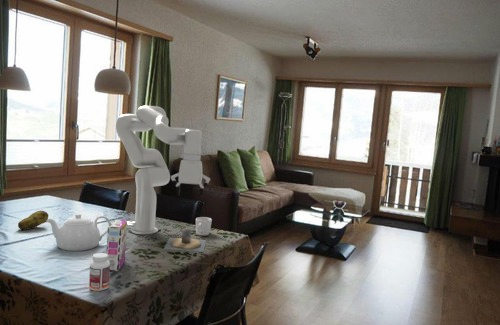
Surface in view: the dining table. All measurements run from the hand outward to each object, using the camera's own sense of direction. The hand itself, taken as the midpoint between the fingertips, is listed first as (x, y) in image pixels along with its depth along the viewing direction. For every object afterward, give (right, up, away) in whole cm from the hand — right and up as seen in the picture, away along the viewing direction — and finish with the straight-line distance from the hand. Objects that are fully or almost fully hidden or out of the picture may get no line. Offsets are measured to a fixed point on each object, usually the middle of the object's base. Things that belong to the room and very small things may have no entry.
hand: (189, 196), depth 185 cm
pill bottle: (-23, -26, -48) cm, 60 cm away
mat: (-2, -23, +2) cm, 23 cm away
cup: (+3, -21, +21) cm, 30 cm away
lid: (-2, -22, +2) cm, 22 cm away
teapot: (-45, -20, -9) cm, 51 cm away
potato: (-74, -16, +9) cm, 76 cm away
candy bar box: (-23, -24, -29) cm, 44 cm away
